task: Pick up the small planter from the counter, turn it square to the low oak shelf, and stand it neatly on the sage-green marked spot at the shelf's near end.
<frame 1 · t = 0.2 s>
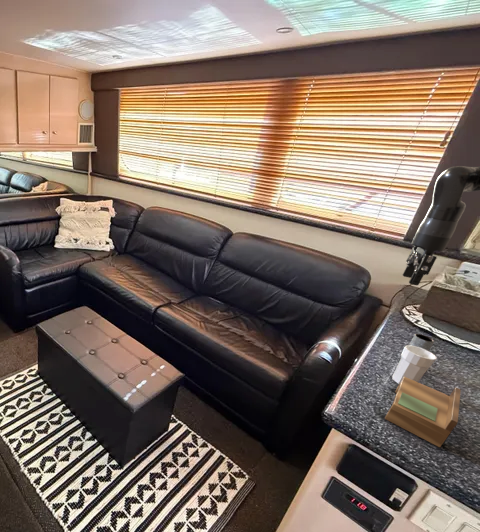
hand: (409, 280, 105), 26 cm above the counter, tool pointing down, fingers open, 8 cm apart
shelf: (415, 415, 83), on the counter
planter: (409, 364, 105), on the counter
cup: (402, 382, 96), on the counter
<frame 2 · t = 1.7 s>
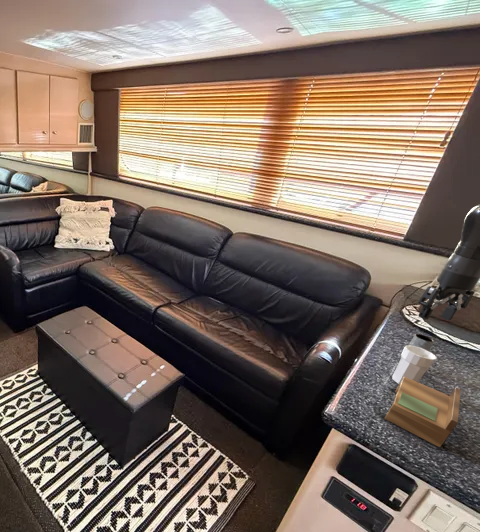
hand: (434, 318, 99), 17 cm above the counter, tool pointing down, fingers open, 8 cm apart
nothing on the counter moved.
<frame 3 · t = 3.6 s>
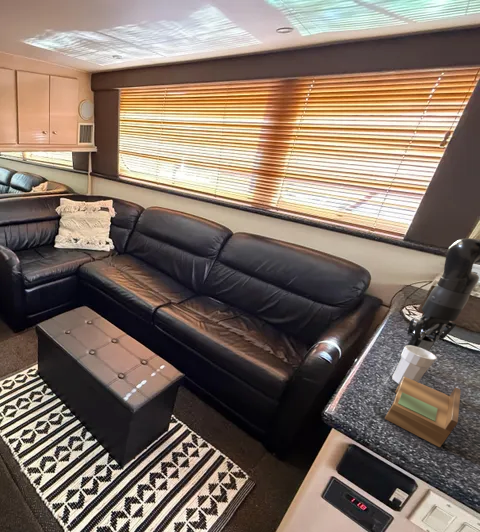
hand: (418, 347, 103), 6 cm above the counter, tool pointing down, fingers closed on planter, 4 cm apart
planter: (409, 364, 105), on the counter, touching gripper
everything else where it was.
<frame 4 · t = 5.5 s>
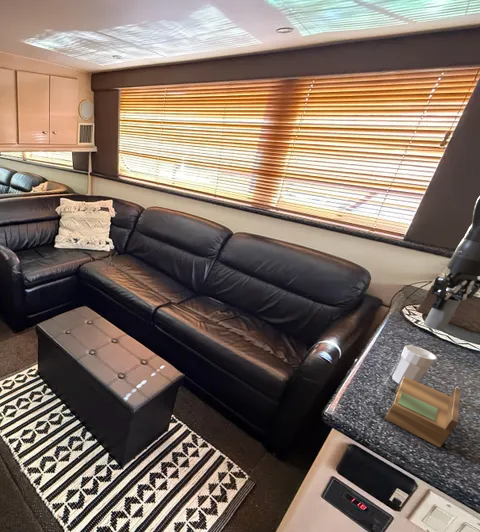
hand: (443, 309, 96), 21 cm above the counter, tool pointing down, fingers closed on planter, 4 cm apart
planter: (433, 327, 99), point 15 cm above the counter, touching gripper
everything else where it was.
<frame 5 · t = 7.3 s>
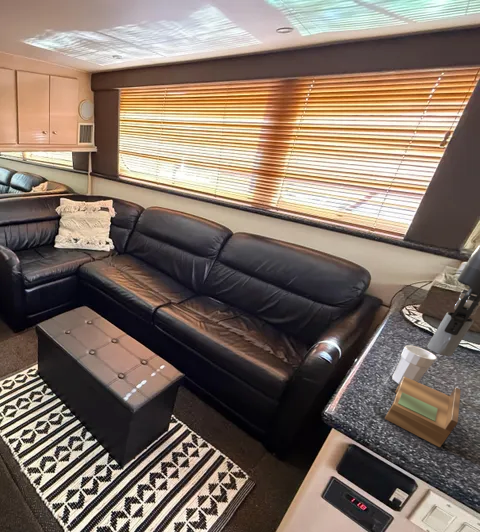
hand: (452, 330, 80), 23 cm above the counter, tool pointing down, fingers closed on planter, 4 cm apart
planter: (438, 351, 82), point 17 cm above the counter, touching gripper
everything else where it was.
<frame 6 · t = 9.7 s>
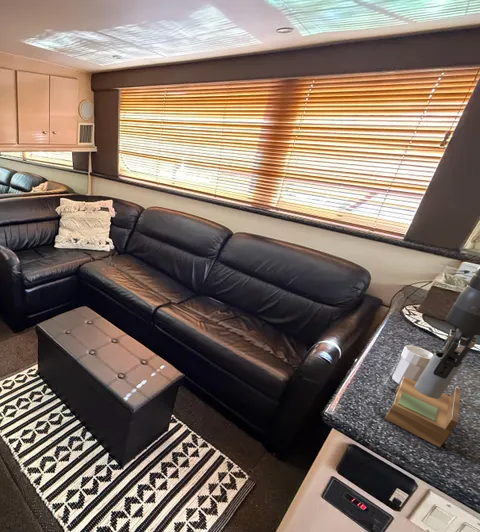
hand: (440, 371, 75), 16 cm above the counter, tool pointing down, fingers closed on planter, 4 cm apart
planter: (426, 392, 78), point 9 cm above the counter, touching gripper
everything else where it was.
when the fingers open (12 cm above the counter, at t = 11.3 s): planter stays where it is, resting on shelf.
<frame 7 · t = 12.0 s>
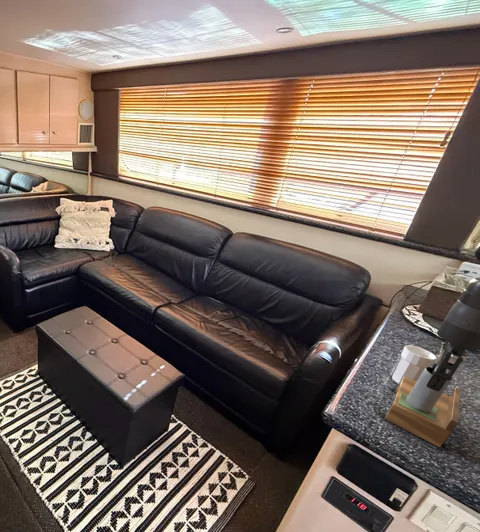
hand: (433, 381, 76), 13 cm above the counter, tool pointing down, fingers open, 8 cm apart
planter: (417, 406, 80), point 5 cm above the counter, touching shelf
everything else where it was.
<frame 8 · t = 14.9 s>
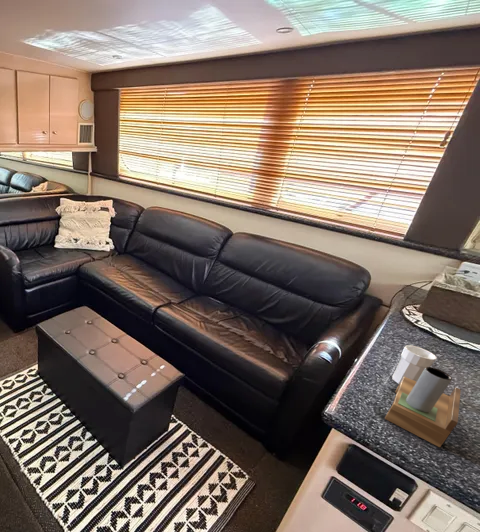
nothing on the counter moved.
at the end: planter 0.0 cm from the target spot on the shelf, point 5.0 cm above the shelf's base; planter tilted 0°; the gripper is holding nothing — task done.
